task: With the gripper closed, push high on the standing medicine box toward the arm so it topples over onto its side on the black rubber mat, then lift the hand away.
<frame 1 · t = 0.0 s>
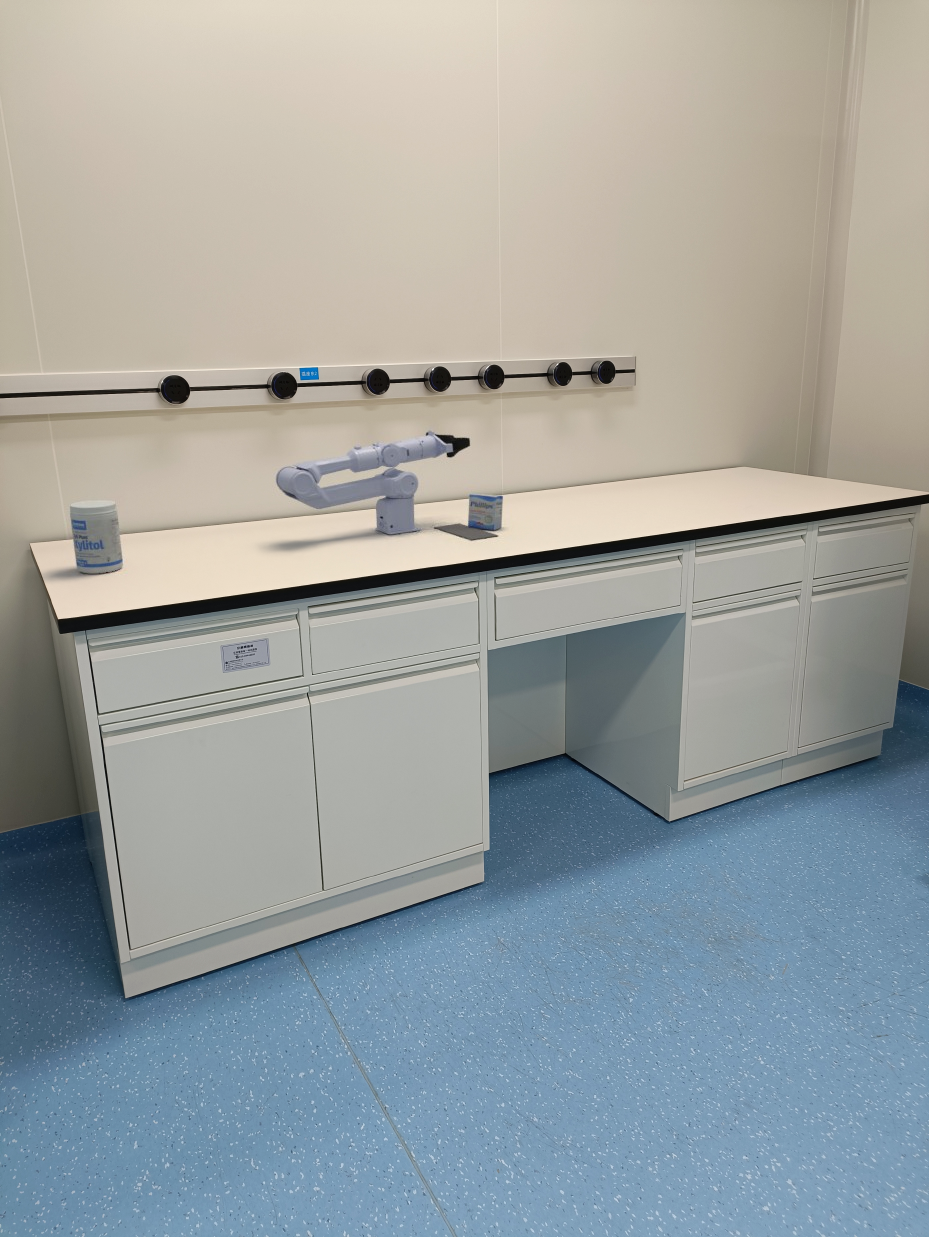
hand: (461, 440, 237), 22 cm above the table, tool horizontal, fingers open, 7 cm apart
rubber mat: (465, 532, 230), on the table
supplement tub: (101, 570, 198), on the table
medicine box: (484, 528, 235), on the table, touching rubber mat
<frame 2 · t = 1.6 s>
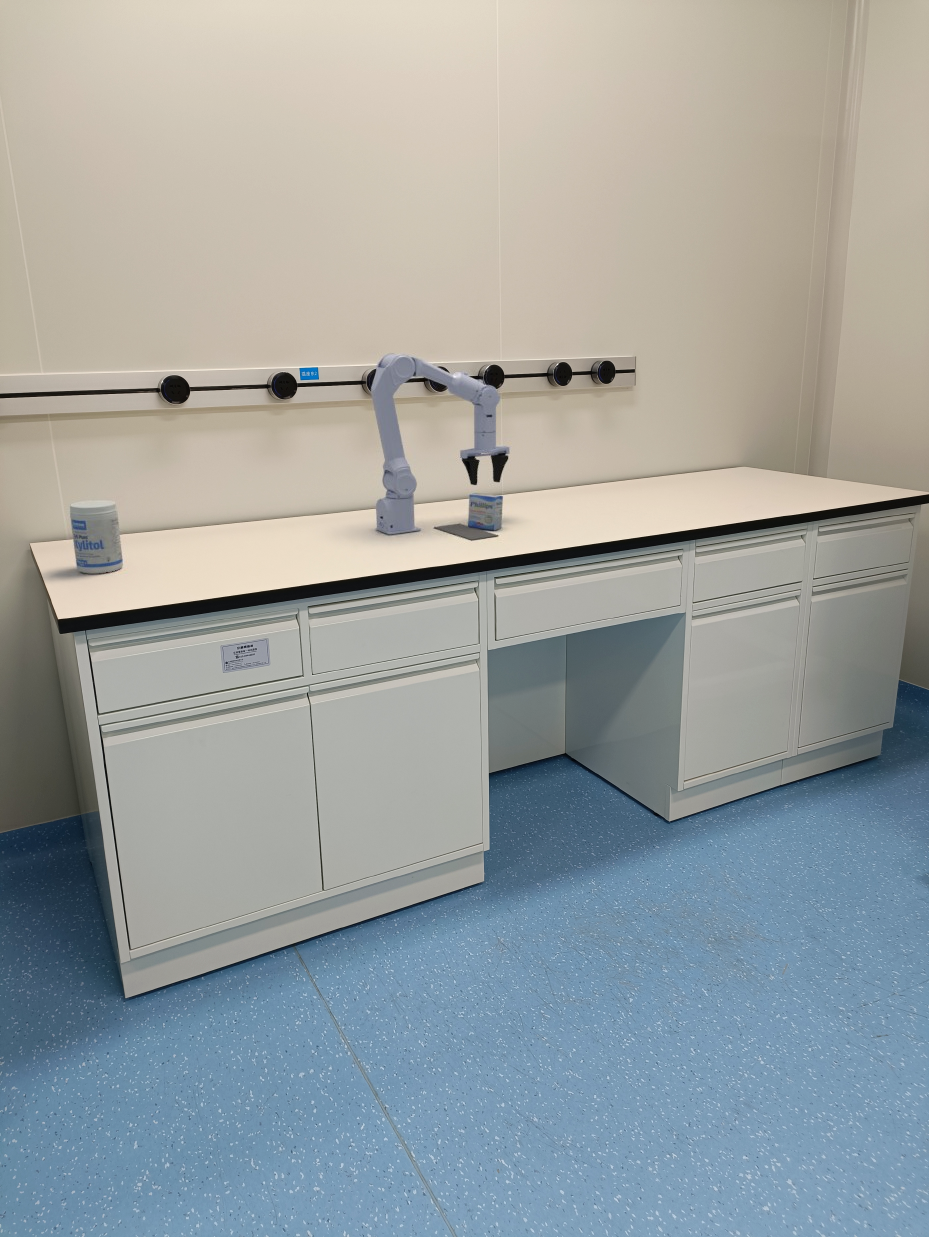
hand: (485, 483, 240), 10 cm above the table, tool pointing down, fingers open, 7 cm apart
nothing on the table moved.
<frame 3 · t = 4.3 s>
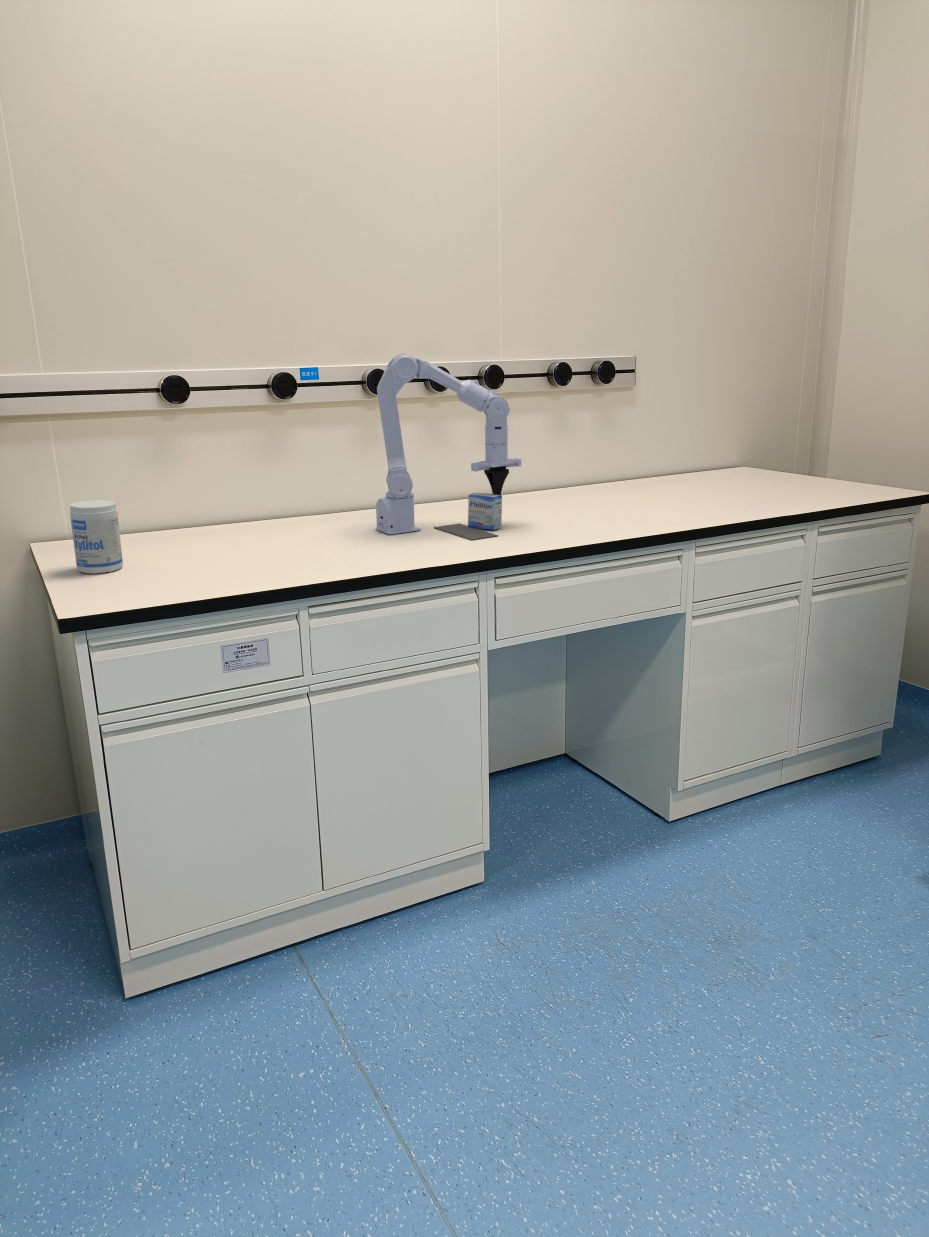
hand: (496, 496, 234), 8 cm above the table, tool pointing down, fingers closed
medicine box: (484, 528, 234), on the table, touching gripper, rubber mat
everything else where it was.
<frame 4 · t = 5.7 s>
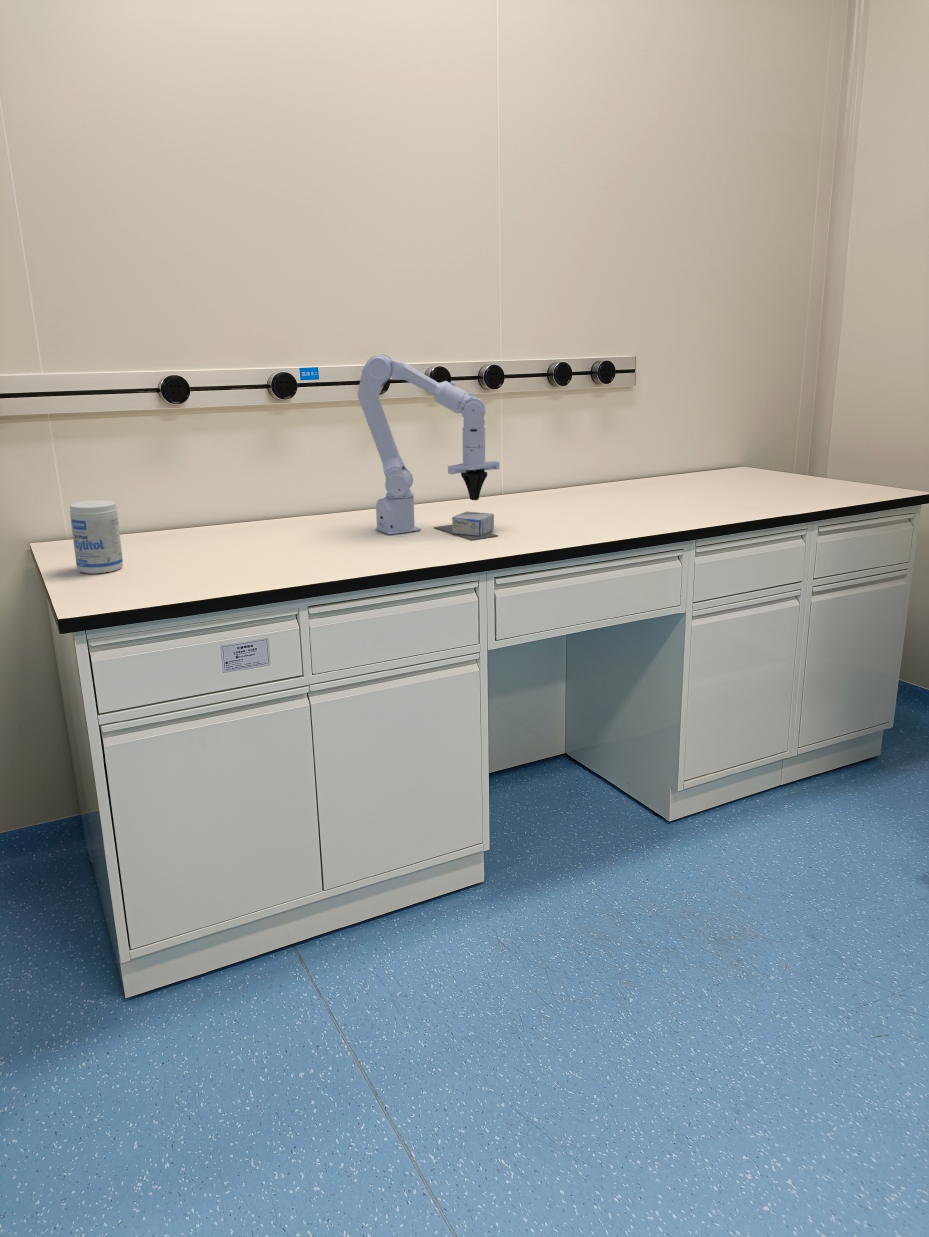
hand: (474, 499, 230), 8 cm above the table, tool pointing down, fingers closed
medicine box: (481, 520, 232), point 3 cm above the table, touching rubber mat
everything else where it was.
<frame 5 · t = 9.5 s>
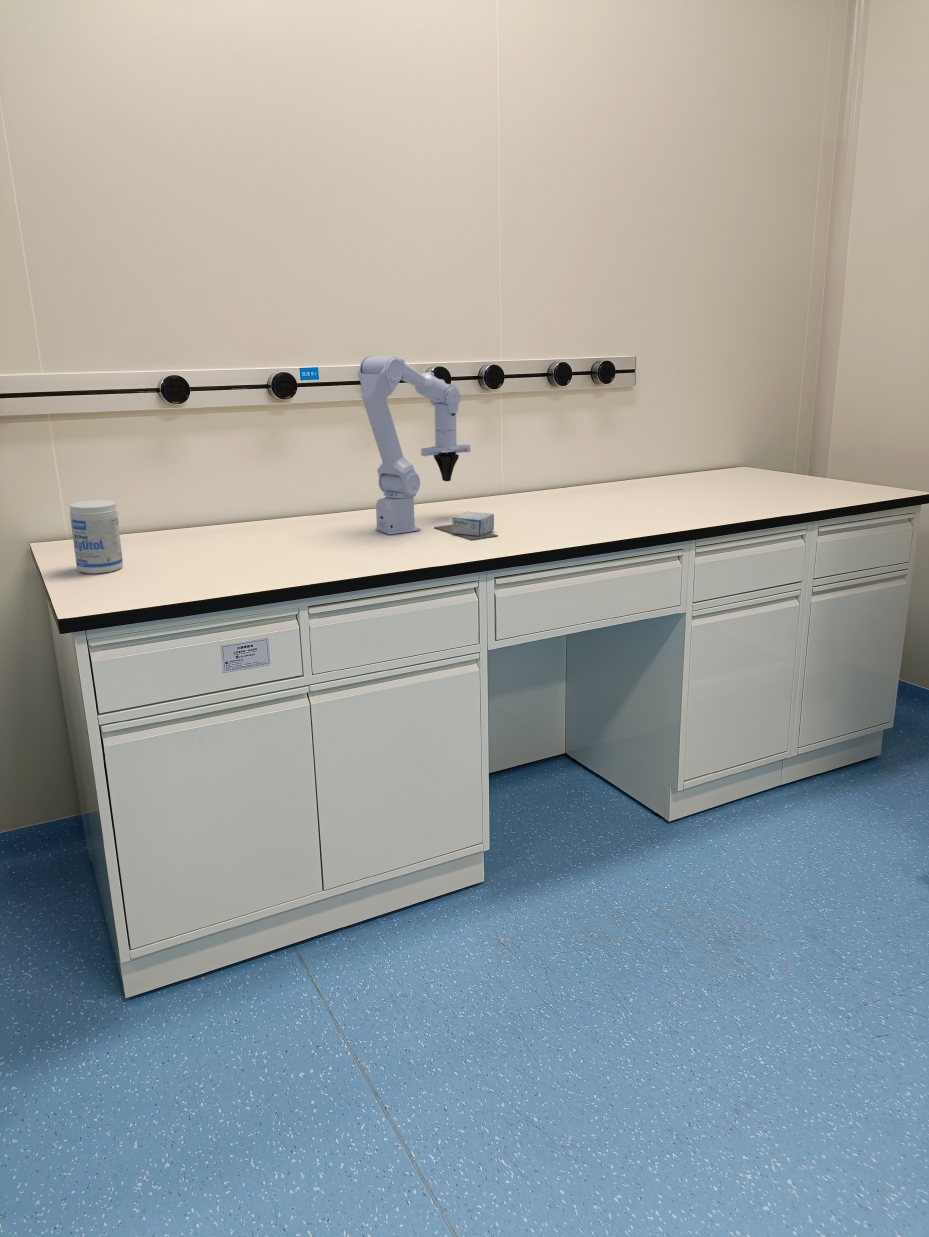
hand: (446, 480, 244), 10 cm above the table, tool pointing down, fingers closed
nothing on the table moved.
at the end: medicine box tilted 90°; medicine box inside the target area (1.0 cm from its centre), point 2.5 cm above the table; medicine box touching rubber mat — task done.
